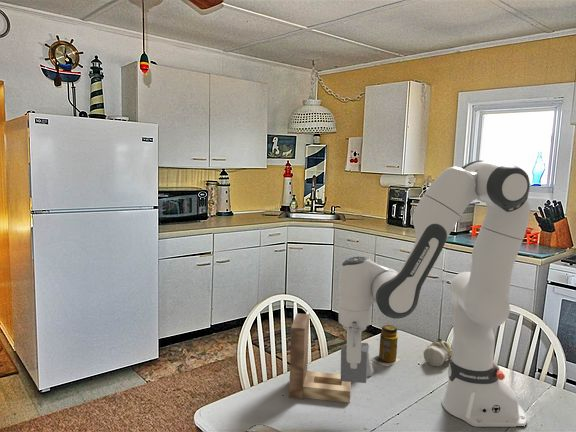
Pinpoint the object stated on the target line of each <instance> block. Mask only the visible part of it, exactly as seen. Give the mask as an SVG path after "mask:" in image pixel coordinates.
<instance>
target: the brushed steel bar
mask: <svg viewBox="0 0 576 432" xmlns="http://www.w3.org/2000/svg"><path fill="white" fill-rule="evenodd" d="M366 370H367V347H361V362H360V363H357V368H356V369H352V368H351V367H350V363H348V362H347V345H341V348H340V374H341V381H345V382H351V383H358V384H359V383H360V384H367V377H366Z"/></svg>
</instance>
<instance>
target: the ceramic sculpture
mask: <svg viewBox="0 0 576 432" xmlns="http://www.w3.org/2000/svg"><path fill="white" fill-rule="evenodd" d="M451 356H452V349H451V347H450V345H449V343H448V342H447V341H444V340H442V339H441V338H437V339H436V340H435V339H434V341H432V342H431V343H430V344H429V345H427V348H425V350H424V351H423V359H424V361H425V362H426V363H427V364H429V365H430V366H432V367H440V366H442V365H443V364H444V362H445V361H447V360H449V361H450V358H451Z"/></svg>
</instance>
